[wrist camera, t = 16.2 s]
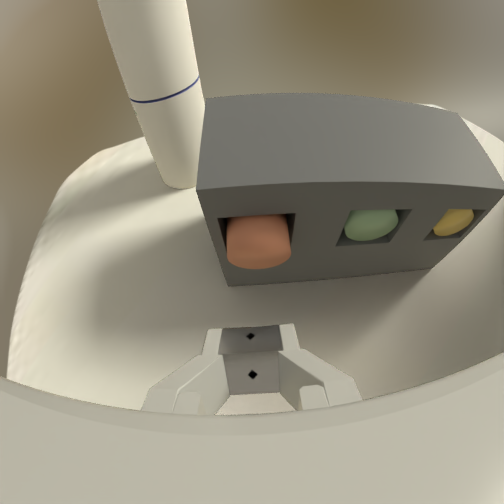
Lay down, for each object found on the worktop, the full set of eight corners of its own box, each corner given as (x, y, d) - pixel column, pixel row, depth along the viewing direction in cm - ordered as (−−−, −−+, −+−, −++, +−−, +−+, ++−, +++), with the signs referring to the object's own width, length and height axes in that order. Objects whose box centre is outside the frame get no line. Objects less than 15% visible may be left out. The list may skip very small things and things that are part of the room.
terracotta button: (283, 227, 21) (286, 193, 17) (288, 267, 19) (293, 238, 16) (229, 231, 21) (222, 198, 17) (230, 270, 19) (223, 242, 16)
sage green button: (376, 205, 21) (391, 173, 18) (386, 239, 20) (406, 209, 16) (331, 207, 22) (341, 173, 18) (339, 242, 20) (353, 211, 17)
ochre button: (446, 205, 21) (466, 178, 18) (458, 235, 20) (481, 210, 16) (414, 205, 21) (433, 176, 18) (426, 237, 20) (449, 209, 16)
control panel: (409, 201, 30) (457, 113, 18) (432, 268, 26) (508, 190, 14) (227, 208, 30) (206, 98, 18) (228, 286, 26) (195, 189, 14)
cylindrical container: (186, 198, 31) (118, -21, 9) (150, 174, 34) (81, -6, 11) (227, 161, 34) (198, -41, 12) (189, 142, 36) (148, -30, 14)
